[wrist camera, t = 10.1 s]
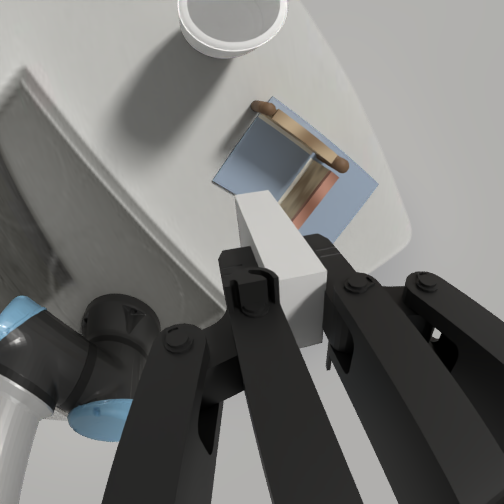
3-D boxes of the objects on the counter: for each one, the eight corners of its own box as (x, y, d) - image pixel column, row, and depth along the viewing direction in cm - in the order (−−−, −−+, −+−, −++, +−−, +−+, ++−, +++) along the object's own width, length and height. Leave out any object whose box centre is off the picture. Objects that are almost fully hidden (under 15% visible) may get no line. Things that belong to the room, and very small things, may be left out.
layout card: (212, 180, 45) (212, 181, 45) (272, 96, 40) (272, 96, 40) (326, 250, 55) (326, 251, 54) (378, 183, 50) (379, 184, 50)
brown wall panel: (247, 108, 41) (259, 112, 34) (256, 97, 40) (268, 98, 34) (322, 162, 47) (343, 176, 40) (329, 152, 46) (352, 164, 40)
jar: (253, 67, 38) (284, 57, 25) (177, 63, 36) (171, 49, 23) (260, 0, 33) (293, -35, 20) (185, -5, 31) (184, -46, 18)
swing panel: (313, 159, 45) (332, 171, 40) (320, 165, 46) (340, 178, 40) (267, 219, 49) (278, 239, 43) (275, 224, 50) (287, 245, 44)
